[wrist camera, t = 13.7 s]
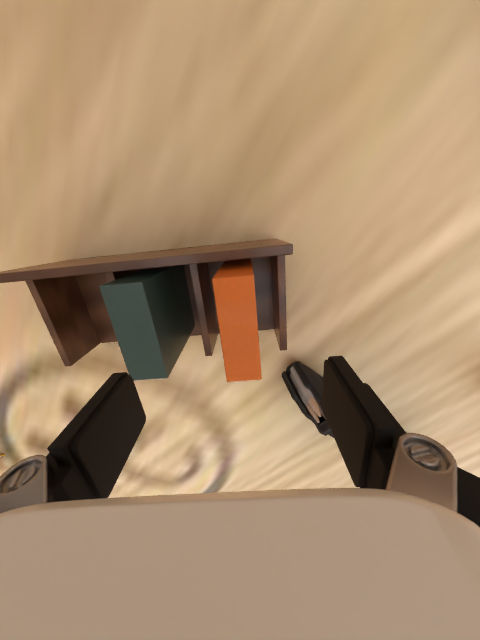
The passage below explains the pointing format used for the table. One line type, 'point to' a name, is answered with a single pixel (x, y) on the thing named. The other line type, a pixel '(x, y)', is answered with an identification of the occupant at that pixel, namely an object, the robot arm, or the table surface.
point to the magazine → (307, 393)
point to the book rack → (199, 264)
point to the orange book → (238, 320)
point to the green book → (150, 319)
